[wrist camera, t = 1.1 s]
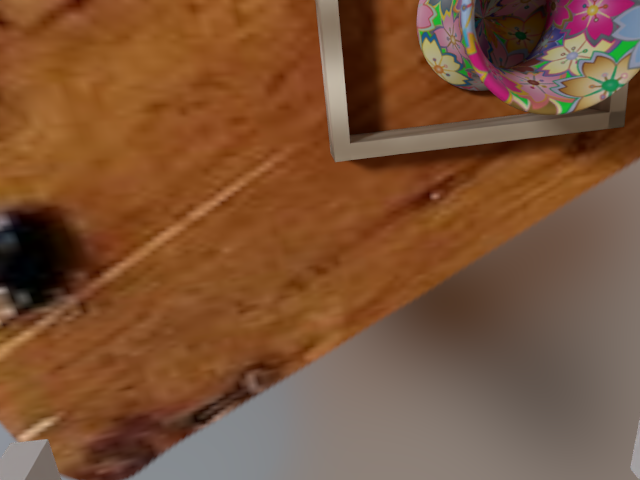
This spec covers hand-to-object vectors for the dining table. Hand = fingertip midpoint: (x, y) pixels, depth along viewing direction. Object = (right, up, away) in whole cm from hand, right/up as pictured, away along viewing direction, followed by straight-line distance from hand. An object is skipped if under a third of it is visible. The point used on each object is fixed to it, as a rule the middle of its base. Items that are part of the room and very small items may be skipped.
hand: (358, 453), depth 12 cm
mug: (+8, +19, +20) cm, 29 cm away
